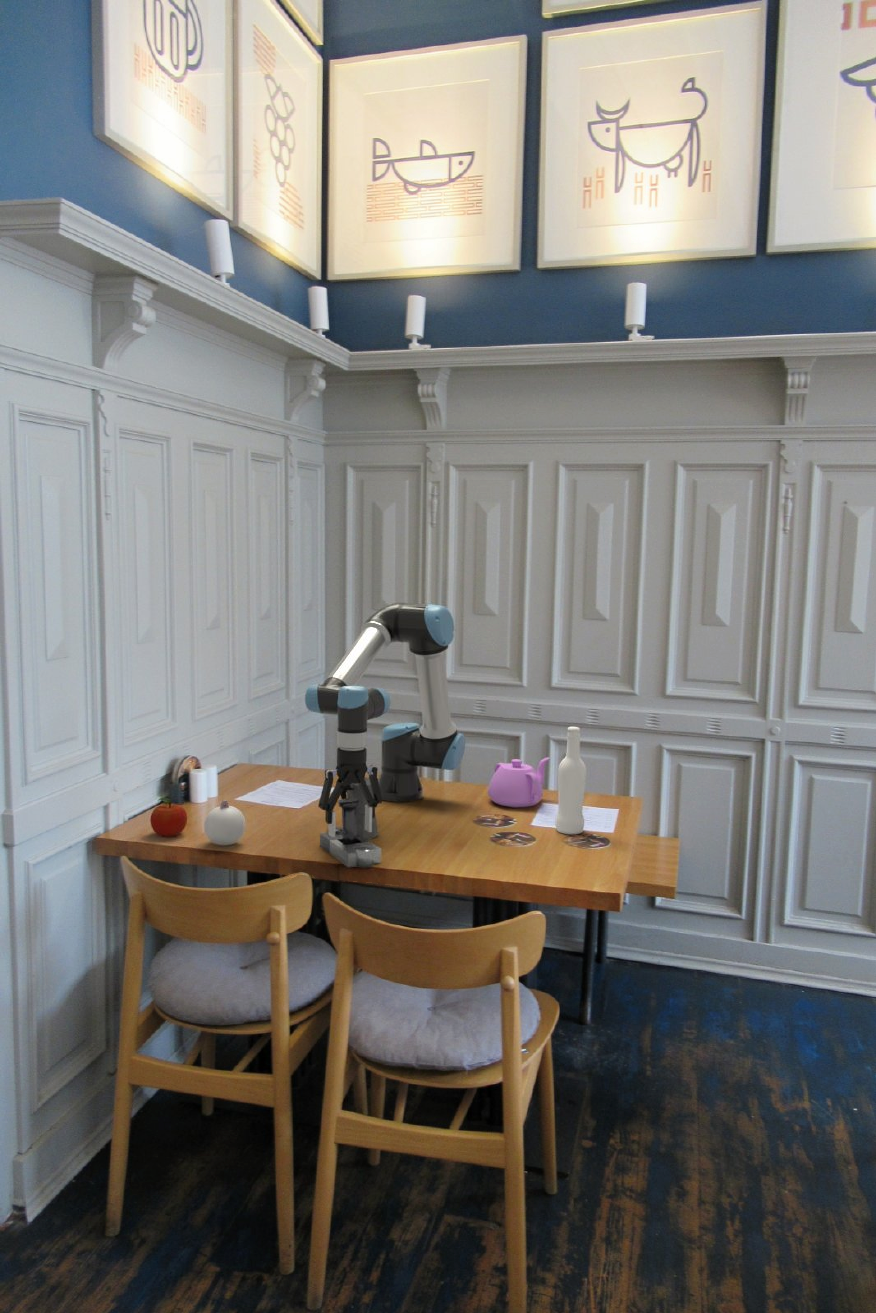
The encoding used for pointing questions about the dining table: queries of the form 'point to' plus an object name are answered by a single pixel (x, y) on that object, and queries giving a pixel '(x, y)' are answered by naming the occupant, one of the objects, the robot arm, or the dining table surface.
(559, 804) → the bottle
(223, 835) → the ornament
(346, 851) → the grey slotted block
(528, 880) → the dining table surface
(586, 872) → the dining table surface
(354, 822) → the pin
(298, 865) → the dining table surface
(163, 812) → the fruit
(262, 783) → the dining table surface
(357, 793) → the coffeepot
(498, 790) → the teapot
